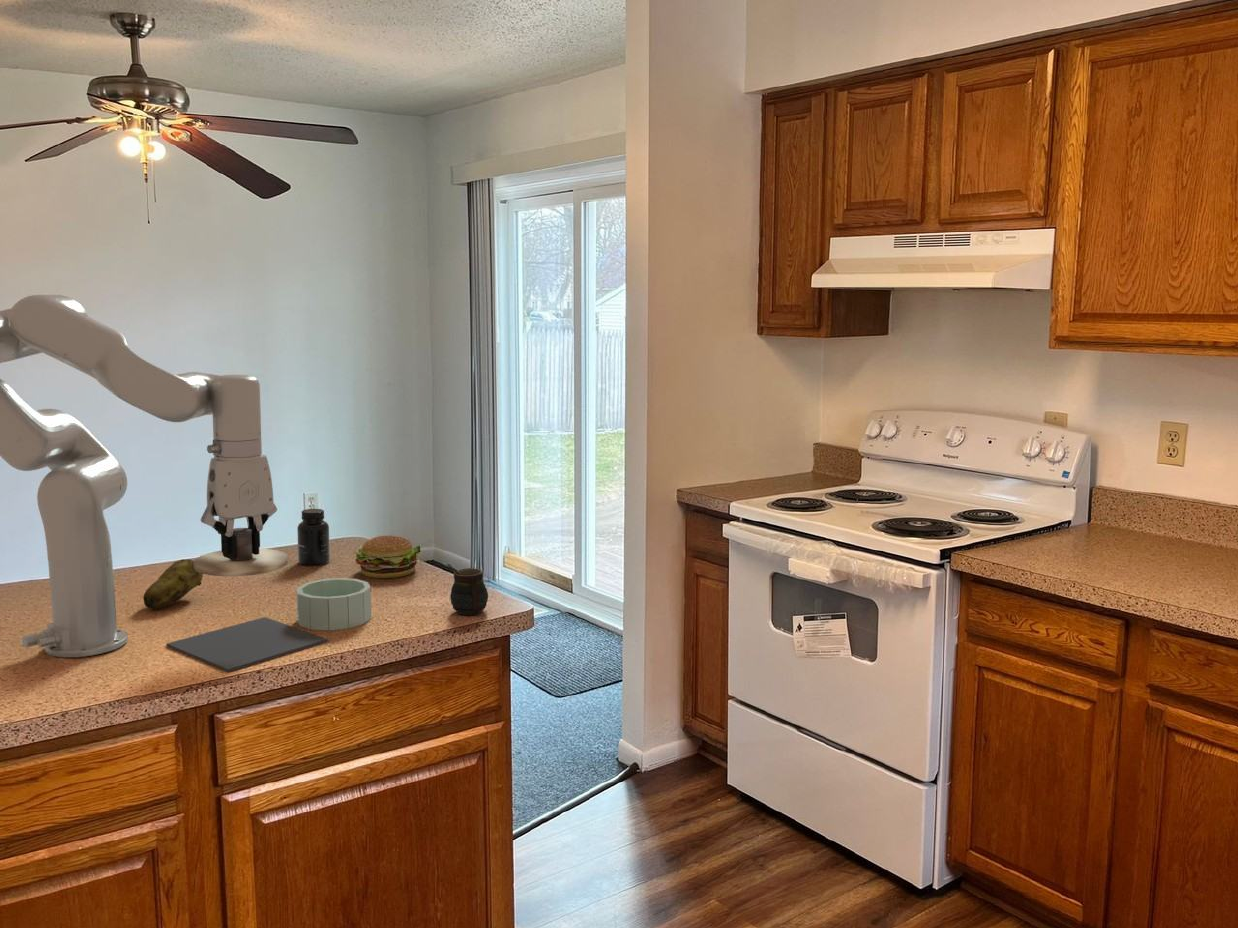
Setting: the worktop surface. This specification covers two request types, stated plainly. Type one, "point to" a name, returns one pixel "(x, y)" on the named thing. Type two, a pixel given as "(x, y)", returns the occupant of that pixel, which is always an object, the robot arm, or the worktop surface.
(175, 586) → the potato
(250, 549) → the lid
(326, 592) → the bowl
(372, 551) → the food
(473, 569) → the mate gourd
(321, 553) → the supplement bottle
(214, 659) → the mat
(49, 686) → the worktop surface
